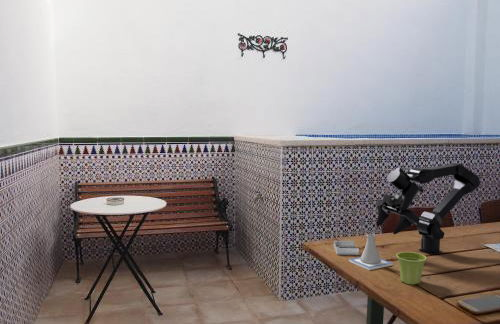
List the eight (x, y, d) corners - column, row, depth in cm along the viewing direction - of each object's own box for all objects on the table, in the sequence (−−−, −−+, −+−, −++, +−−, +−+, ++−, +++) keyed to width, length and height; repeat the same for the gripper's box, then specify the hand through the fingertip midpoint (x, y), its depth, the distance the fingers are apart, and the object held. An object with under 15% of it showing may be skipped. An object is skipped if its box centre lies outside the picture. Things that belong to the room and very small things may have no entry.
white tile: (392, 265, 171) (392, 262, 171) (368, 270, 166) (369, 267, 166) (371, 257, 181) (371, 254, 181) (348, 261, 176) (348, 259, 176)
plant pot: (425, 278, 158) (426, 253, 157) (425, 288, 149) (426, 261, 148) (396, 275, 161) (397, 250, 160) (395, 284, 152) (395, 259, 151)
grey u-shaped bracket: (354, 246, 195) (354, 240, 194) (358, 255, 184) (358, 247, 183) (333, 246, 195) (333, 239, 195) (336, 254, 184) (337, 247, 184)
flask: (384, 262, 172) (385, 235, 171) (370, 265, 169) (370, 238, 168) (370, 257, 178) (371, 231, 177) (356, 260, 175) (356, 234, 174)
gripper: (377, 180, 185) (356, 213, 183) (413, 191, 168) (390, 227, 167) (393, 194, 190) (373, 226, 188) (429, 206, 174) (407, 241, 172)
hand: (385, 230), depth 179 cm, fingers open, 9 cm apart
